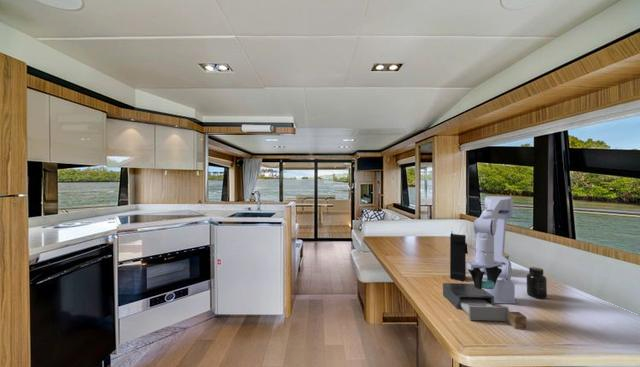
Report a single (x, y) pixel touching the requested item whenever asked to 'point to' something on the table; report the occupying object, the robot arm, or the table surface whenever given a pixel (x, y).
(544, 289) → the supplement bottle
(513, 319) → the walnut block
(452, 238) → the portable radio
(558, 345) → the table surface
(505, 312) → the tray
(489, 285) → the disc
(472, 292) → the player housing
